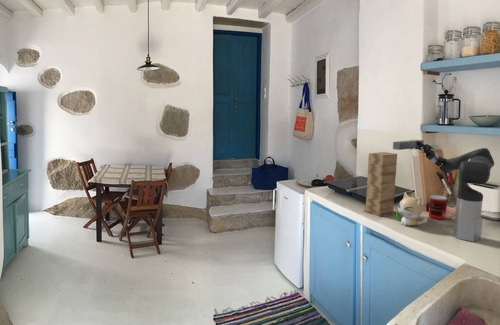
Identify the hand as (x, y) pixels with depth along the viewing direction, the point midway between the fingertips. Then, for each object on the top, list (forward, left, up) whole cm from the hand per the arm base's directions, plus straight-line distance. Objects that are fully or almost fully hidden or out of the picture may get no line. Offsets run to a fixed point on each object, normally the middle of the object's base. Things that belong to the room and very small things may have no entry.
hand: (414, 141), depth 189 cm
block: (0, +5, -3) cm, 6 cm away
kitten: (-20, +30, -37) cm, 52 cm away
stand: (0, +26, -37) cm, 45 cm away
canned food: (-21, +8, -37) cm, 43 cm away
